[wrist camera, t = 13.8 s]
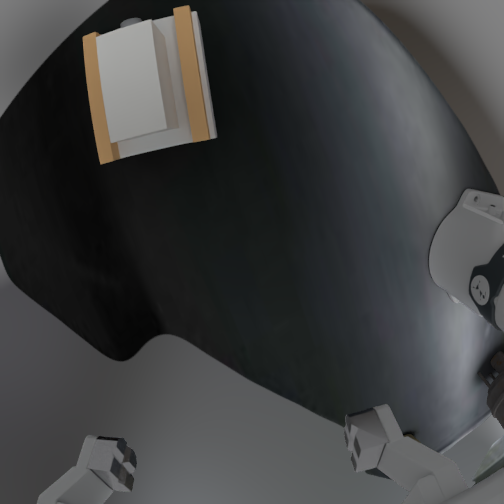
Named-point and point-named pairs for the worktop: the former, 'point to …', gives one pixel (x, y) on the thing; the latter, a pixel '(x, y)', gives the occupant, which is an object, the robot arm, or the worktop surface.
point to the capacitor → (496, 388)
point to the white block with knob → (136, 81)
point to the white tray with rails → (183, 83)
